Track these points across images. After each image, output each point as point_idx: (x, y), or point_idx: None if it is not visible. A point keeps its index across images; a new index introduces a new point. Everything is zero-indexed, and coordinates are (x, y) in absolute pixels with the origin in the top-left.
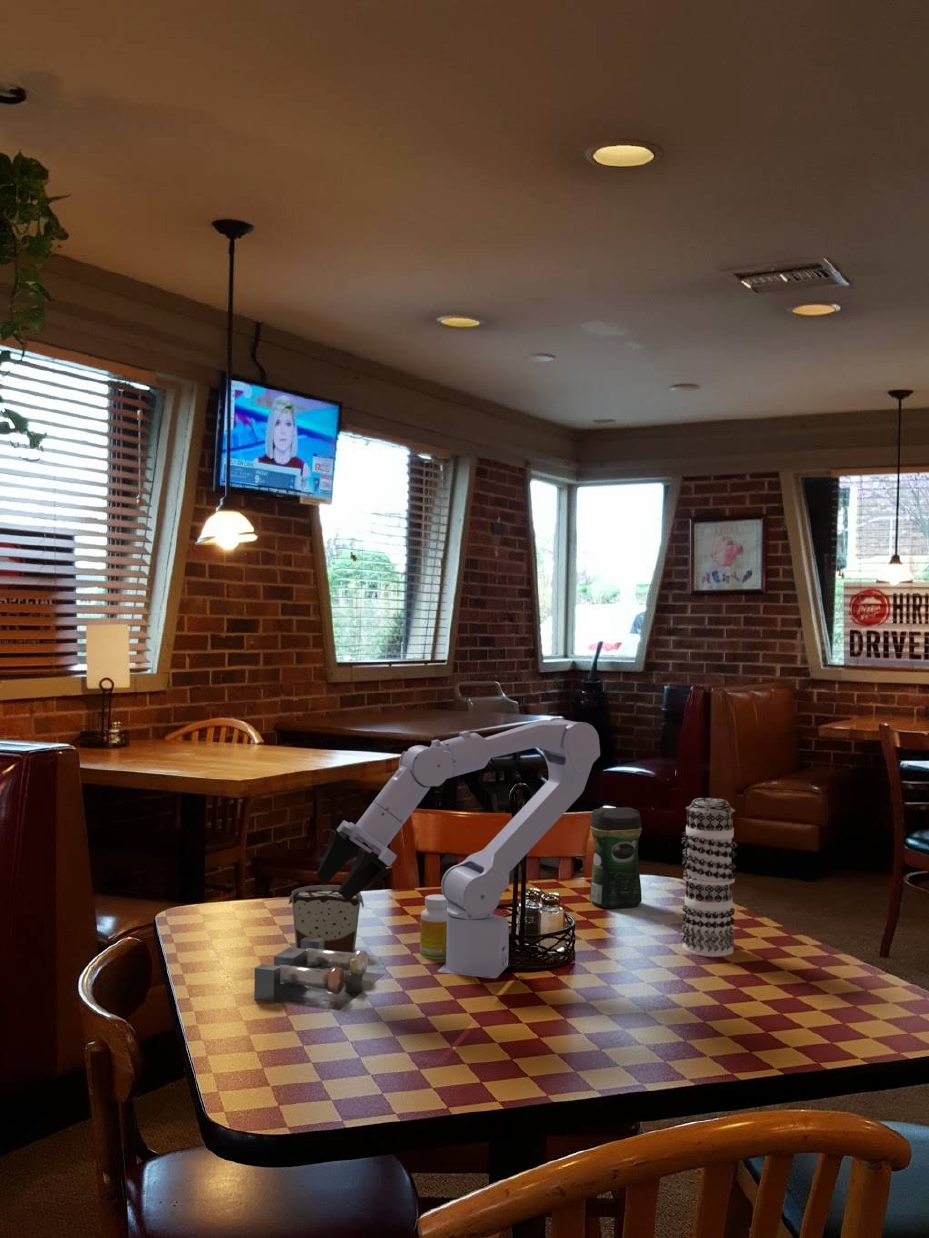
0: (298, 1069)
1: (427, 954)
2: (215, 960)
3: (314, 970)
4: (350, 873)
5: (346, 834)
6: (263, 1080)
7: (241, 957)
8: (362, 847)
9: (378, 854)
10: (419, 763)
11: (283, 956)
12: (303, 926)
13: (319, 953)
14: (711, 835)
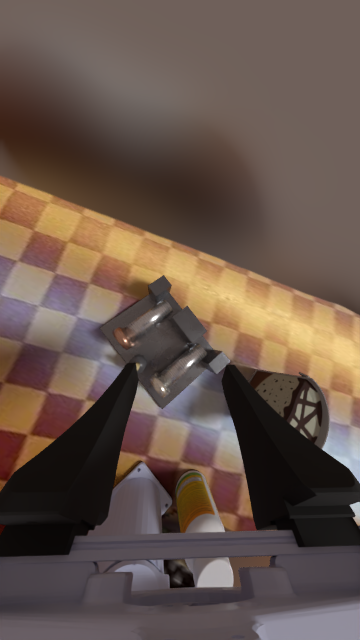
0: (11, 246)
1: (185, 477)
2: (265, 307)
3: (137, 323)
4: (110, 400)
5: (315, 542)
6: (10, 219)
7: (264, 327)
8: (170, 534)
9: (30, 562)
10: None
11: (182, 312)
12: (272, 380)
13: (188, 354)
14: None
